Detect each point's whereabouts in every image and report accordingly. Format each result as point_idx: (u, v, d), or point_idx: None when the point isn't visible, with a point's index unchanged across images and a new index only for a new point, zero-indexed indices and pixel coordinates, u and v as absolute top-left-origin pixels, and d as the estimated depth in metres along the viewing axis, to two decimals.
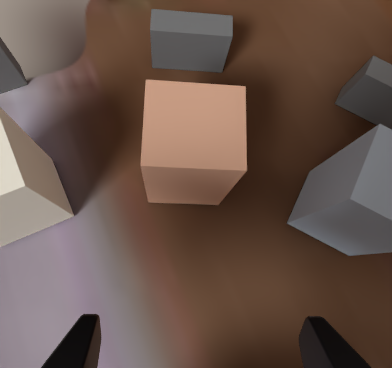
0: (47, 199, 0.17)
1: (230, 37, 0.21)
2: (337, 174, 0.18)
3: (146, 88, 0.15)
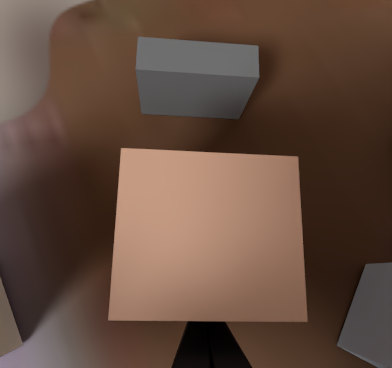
0: None
1: (255, 78, 0.14)
2: None
3: (122, 164, 0.09)
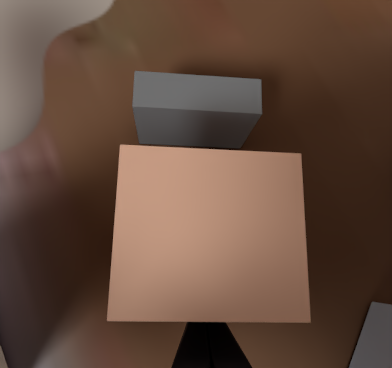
0: None
1: (258, 114, 0.14)
2: None
3: (121, 161, 0.08)
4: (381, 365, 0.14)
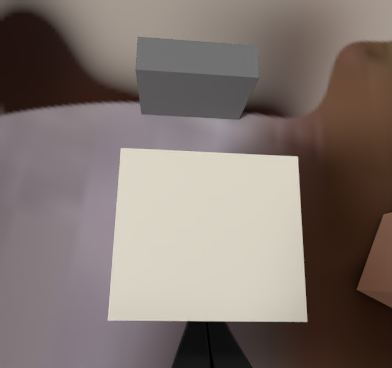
0: None
1: None
2: None
3: None
4: None
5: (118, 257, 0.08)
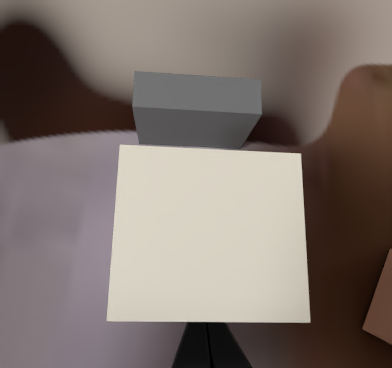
0: None
1: None
2: None
3: None
4: None
5: (117, 256, 0.08)
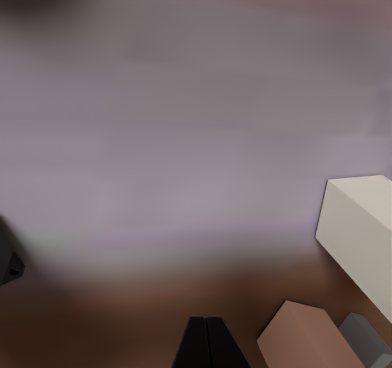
0: (362, 289, 0.20)
1: None
2: None
3: None
4: None
5: None
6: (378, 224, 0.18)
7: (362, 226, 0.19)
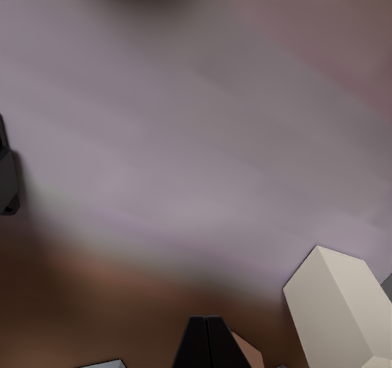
0: (305, 353, 0.21)
1: None
2: None
3: None
4: None
5: None
6: (344, 305, 0.20)
7: (329, 300, 0.21)
